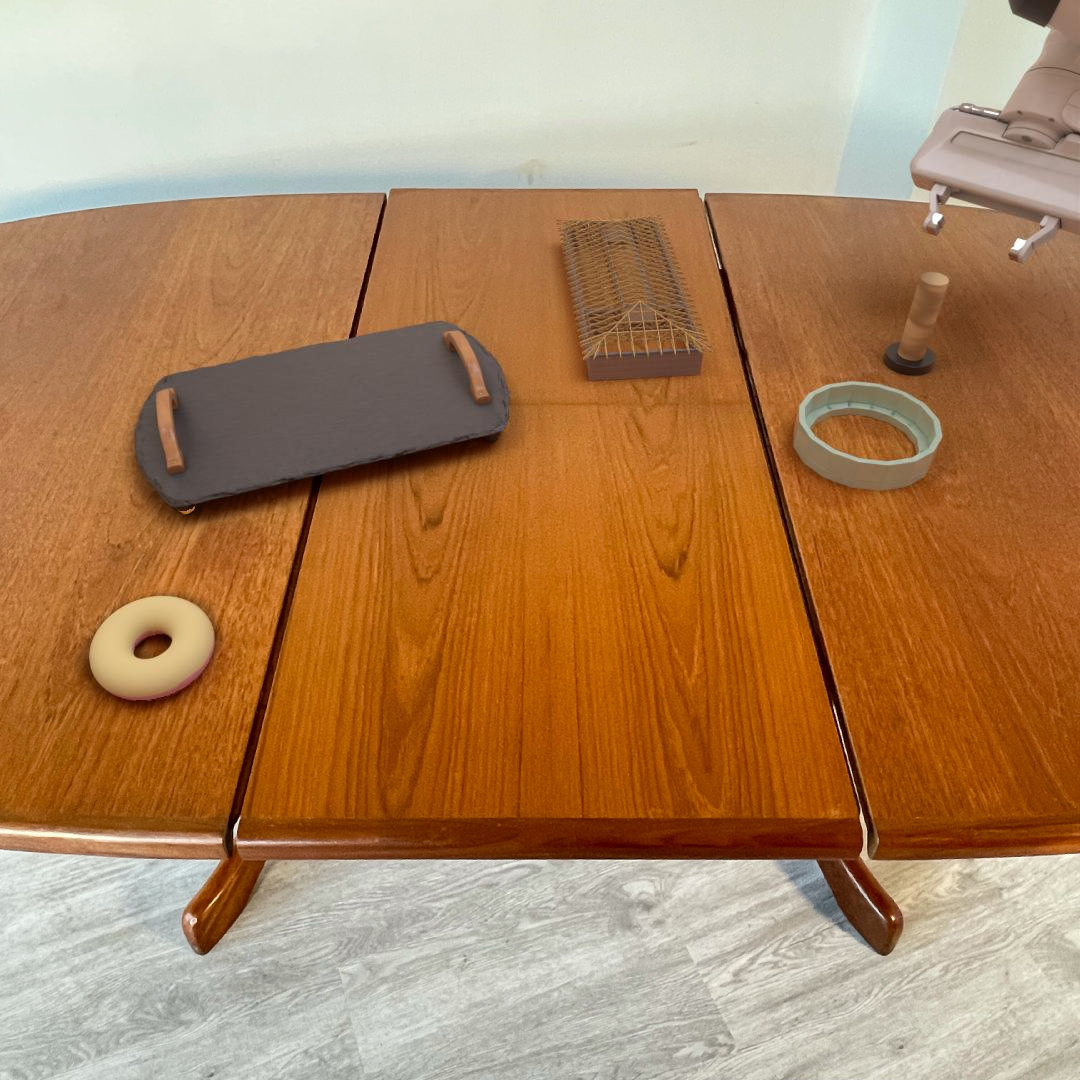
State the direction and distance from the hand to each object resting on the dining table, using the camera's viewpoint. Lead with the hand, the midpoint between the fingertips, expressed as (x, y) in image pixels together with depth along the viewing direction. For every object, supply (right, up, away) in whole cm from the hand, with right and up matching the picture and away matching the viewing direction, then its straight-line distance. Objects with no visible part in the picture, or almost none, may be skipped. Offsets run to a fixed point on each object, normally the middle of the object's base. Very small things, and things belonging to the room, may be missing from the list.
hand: (971, 245), depth 92 cm
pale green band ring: (-13, -23, -4) cm, 27 cm away
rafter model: (-34, -1, +20) cm, 40 cm away
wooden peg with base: (-4, -13, +7) cm, 15 cm away
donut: (-76, -41, -20) cm, 88 cm away
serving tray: (-68, -18, +3) cm, 70 cm away
